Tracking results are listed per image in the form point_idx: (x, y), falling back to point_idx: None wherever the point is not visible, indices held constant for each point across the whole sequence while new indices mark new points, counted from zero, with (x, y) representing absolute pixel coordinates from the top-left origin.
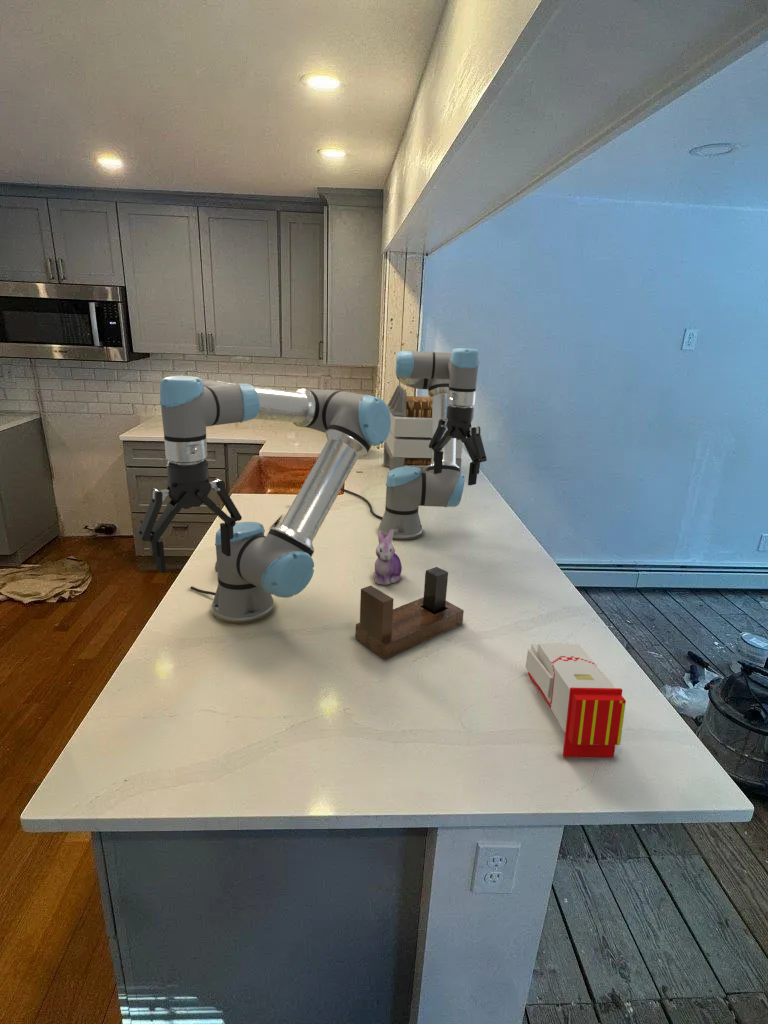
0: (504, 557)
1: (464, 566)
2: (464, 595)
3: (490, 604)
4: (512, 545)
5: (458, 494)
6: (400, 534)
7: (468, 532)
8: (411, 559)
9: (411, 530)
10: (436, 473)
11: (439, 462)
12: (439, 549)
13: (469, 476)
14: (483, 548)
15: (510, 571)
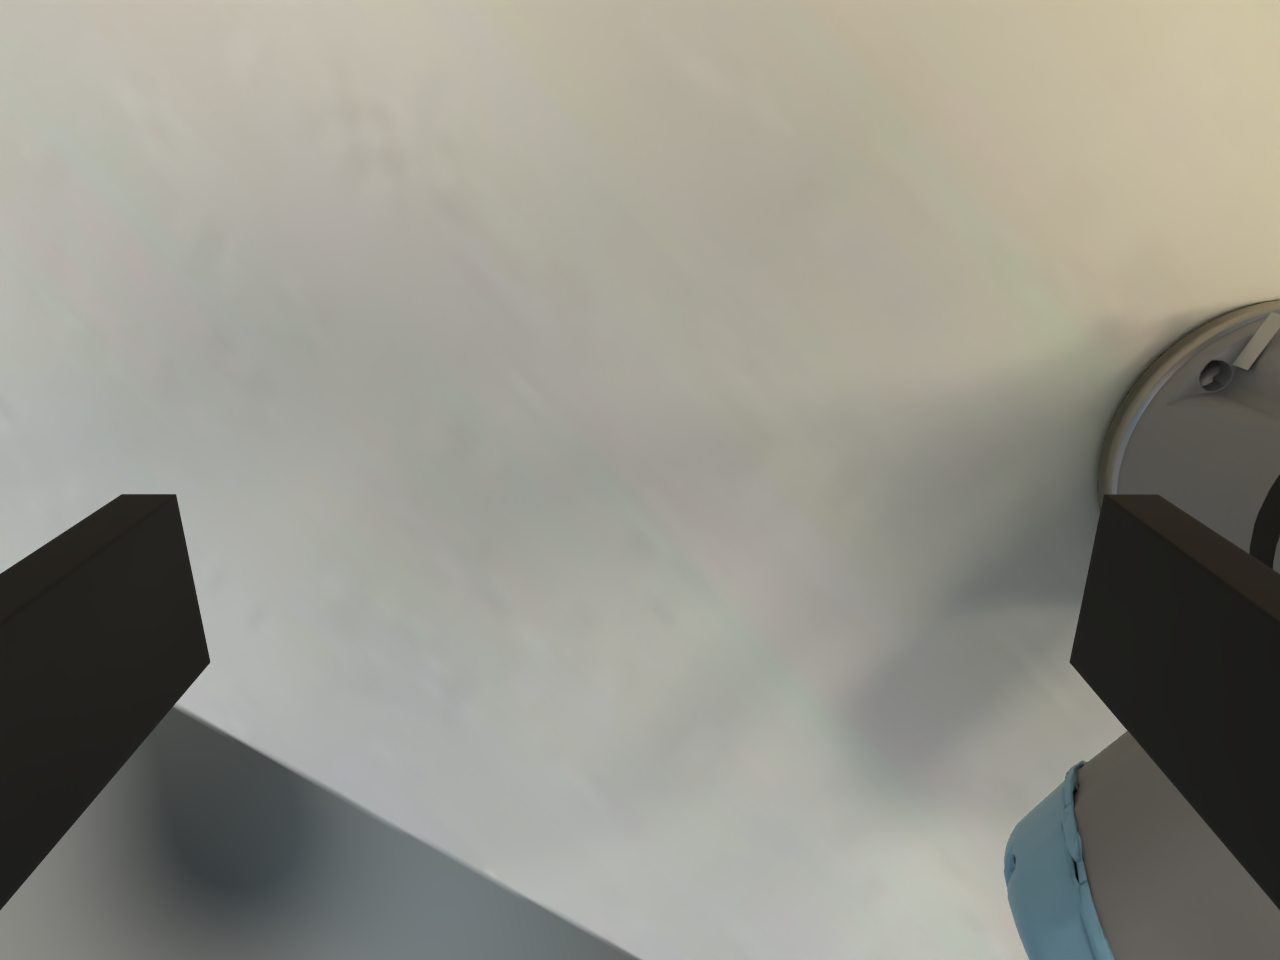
0: (536, 689)
1: (586, 405)
2: (272, 74)
3: (99, 123)
4: (624, 840)
5: (1031, 893)
6: (1192, 363)
7: (918, 792)
8: (889, 183)
9: (1155, 449)
10: (1101, 528)
11: (1238, 733)
12: (869, 466)
13: (28, 577)
14: (699, 690)
15: (380, 575)
